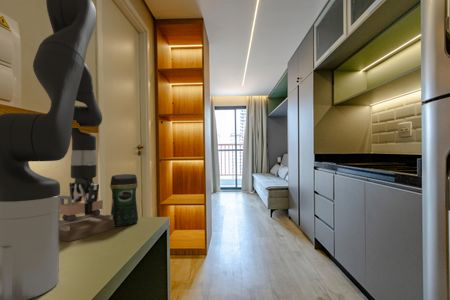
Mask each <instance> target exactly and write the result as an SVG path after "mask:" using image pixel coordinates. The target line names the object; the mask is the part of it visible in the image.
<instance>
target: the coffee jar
mask: <svg viewBox="0 0 450 300" xmlns="http://www.w3.org/2000/svg"><path fill="white" fill-rule="evenodd" d="M138 186H139V185H138V178H137V175H136V174H132V173H123V174H114V175H112V176H111V179H110V184H109V187H110V190H111V208H110V209H111V210H110V215H111V216H113V219H114V227H122V226H128V224H129V225H133V224H136V223H137V222H139V213H138V205H137V204H138V203H137V188H138Z"/></svg>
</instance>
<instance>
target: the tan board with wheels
mask: <svg viewBox="0 0 450 300" xmlns="http://www.w3.org/2000/svg"><path fill="white" fill-rule="evenodd" d="M65 200H67V203H65ZM103 201H104V200H103V199H98V198H97V201H95V202H94V203H93V204H92V214H91V215H94V216H98V215H99V214H101V210H102V209H103V207H104V204H103V203H104V202H103ZM83 213H84V214H85V201H84V200H82V201H78V202H74V201H73V200H72V197H71V196H70V195H60V215H62V219H63V220H65V221H69V222H73V221H75V220H76V216H77V215H79V214H83Z"/></svg>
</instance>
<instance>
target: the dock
mask: <svg viewBox="0 0 450 300" xmlns="http://www.w3.org/2000/svg"><path fill="white" fill-rule="evenodd" d="M113 229H115V226H114V219H113V216H111V214H105V213H100V214H99V215H98V216H94V215H85V213H84V214H81V215H76V220H75V221H73V222H69V221H65V220H63V219H60V220H59V241H63V242H66V243H69V242H73V241H75V240H79V239H83V238H86V237H90V236H93V235H95V234H99V233H103V232H105V231H109V230H113Z"/></svg>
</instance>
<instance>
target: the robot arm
mask: <svg viewBox="0 0 450 300" xmlns="http://www.w3.org/2000/svg"><path fill="white" fill-rule="evenodd" d="M45 4H46V12H47V15H48V19H49V23H50V26H51V28H52V34H50V35H48V36H47V37H46V38H44V39H43V40H42V41H41V43H39V46H38V49H37V51H36V53H35V56H34V59H33V61H32V62H33V63H32V68H33V69H32V70H33V72H34V75H35V77H36V79H37V80H38V83H39V84H40V85H41V87H42V88H43V89H44V90H45V92H46V94H47V96H48V97H49V99H50V108H49V110H48V111H47V113H27V112H26V113H24V112H22V113H21V112H19V113H18V112H6V113H2V114H0V300H31V299H33V298H36V297H39V296H41V295H43V294H45V293H46V292H49V291H50V290H52V289H53V288H54V287H56V286H57V285H58V284H59V280H60V278H59V277H60V239H59V220H61V219H60V216H61V214H60V196H61V184H60V182H59V180H56V179H54V178H51V177H46V176H43V175H41V174H39V173H37V172H35V171H34V170H32V169H31V167H30V164H29V163H30V162H55V161H56V162H57V161H61V160H63V159H64V158H65V156H67V154H68V152H69V149H70V146H71V155H70V178H71V179H74V182H69V185H68V186H69V196H71V197H72V202H78V201H85V212H84V214H85V215H91V214H92V204H93V203H94V202H95V201H97V199H98V198H99V197H98V196H99V189H100V184H99V183H94V180H93V179H94V178H96V177H97V165H98V163H97V161H98V160H97V158H98V157H97V138H96V136H95V134H91V133H88V132H84V131H82V130H81V128H80V129H78V128H72V124H73V120H76V121H77V123H79V125H80V127H84V128H97V127H99V126H100V125H101V124H102V123H103V115H102V111H101V109H100V107H99V105H98V103H97V100H96V96H95V94H94V93H95V92H94V84H93V75H92V73H91V70H90V68H89V67H88V66H87V63H85V61H86V57H87V51H88V46H89V43H90V42H91V40H92V39H91V38H92V36H93V34H94V31H95V28H96V25H97V23H96V22H97V10H96V6H95V4H94V2H93V1H92V0H45ZM76 102H78V103H83V104H84V105H76Z"/></svg>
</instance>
